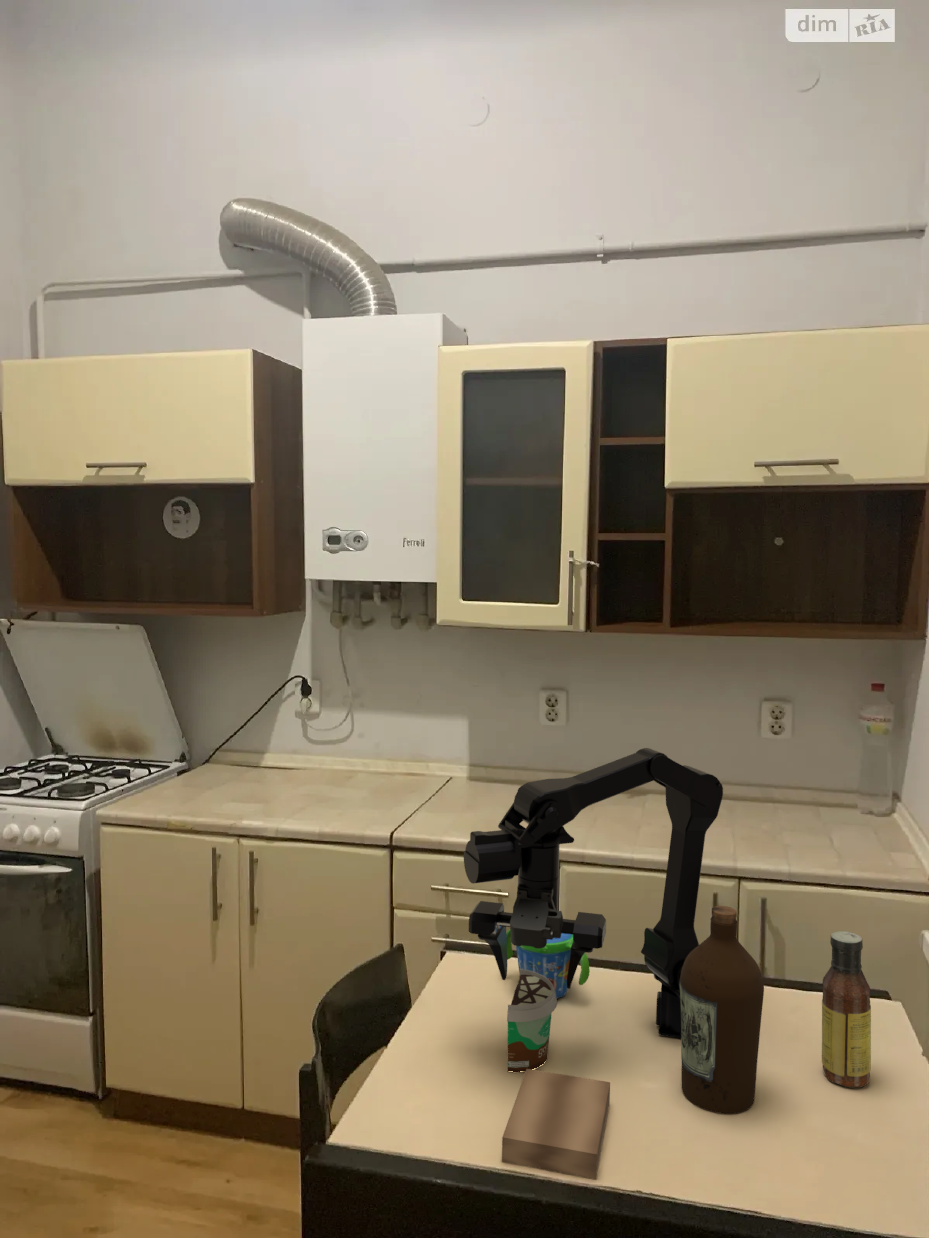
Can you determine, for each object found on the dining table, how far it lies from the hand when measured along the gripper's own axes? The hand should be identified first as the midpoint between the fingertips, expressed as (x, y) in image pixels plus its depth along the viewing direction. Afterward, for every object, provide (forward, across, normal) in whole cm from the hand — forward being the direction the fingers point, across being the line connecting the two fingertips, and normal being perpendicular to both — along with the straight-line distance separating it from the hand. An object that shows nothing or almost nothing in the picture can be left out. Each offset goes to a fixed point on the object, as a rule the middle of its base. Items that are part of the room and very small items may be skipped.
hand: (536, 982), depth 129 cm
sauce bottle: (+11, +42, +7) cm, 44 cm away
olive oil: (+11, +25, -2) cm, 27 cm away
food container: (+11, 0, 0) cm, 11 cm away
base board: (+11, +6, -16) cm, 20 cm away
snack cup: (+11, -2, +20) cm, 23 cm away
